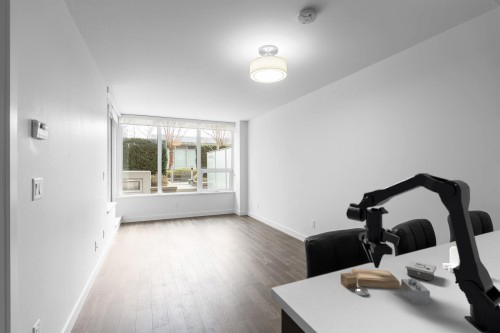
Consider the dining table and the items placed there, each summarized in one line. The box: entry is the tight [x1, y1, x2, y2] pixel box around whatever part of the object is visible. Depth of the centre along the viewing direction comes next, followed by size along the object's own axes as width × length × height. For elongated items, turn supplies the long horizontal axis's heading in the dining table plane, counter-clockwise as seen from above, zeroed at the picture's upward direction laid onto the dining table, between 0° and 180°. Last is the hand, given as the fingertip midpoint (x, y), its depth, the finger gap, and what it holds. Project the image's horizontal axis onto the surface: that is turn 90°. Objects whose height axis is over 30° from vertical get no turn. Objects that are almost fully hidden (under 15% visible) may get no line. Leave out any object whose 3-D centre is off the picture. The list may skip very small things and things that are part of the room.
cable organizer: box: [442, 245, 460, 274], centre depth 103 cm, size 5×10×10 cm, turn 84°
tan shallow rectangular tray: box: [351, 268, 400, 289], centre depth 93 cm, size 9×14×3 cm, turn 81°
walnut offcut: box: [340, 272, 358, 290], centre depth 90 cm, size 4×4×4 cm
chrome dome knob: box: [354, 286, 369, 297], centre depth 85 cm, size 4×4×2 cm
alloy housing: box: [400, 278, 431, 305], centre depth 82 cm, size 8×5×5 cm, turn 171°
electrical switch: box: [404, 259, 437, 282], centre depth 98 cm, size 9×5×9 cm
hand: (374, 265), depth 93 cm, fingers open, 5 cm apart
